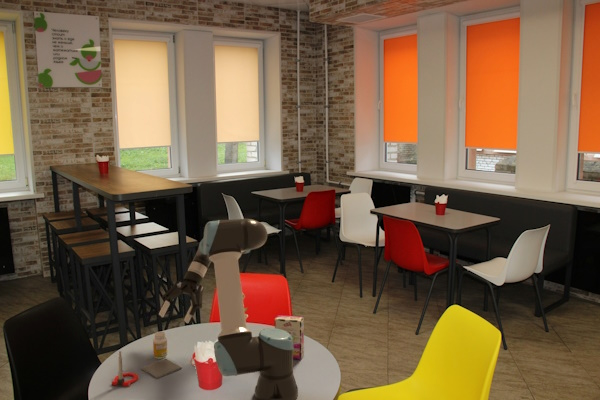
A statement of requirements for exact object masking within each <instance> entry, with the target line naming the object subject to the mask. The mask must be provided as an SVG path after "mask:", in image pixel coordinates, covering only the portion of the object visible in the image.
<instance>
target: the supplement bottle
mask: <svg viewBox="0 0 600 400" xmlns="http://www.w3.org/2000/svg"><path fill="white" fill-rule="evenodd" d="M152 341H153V342H152V347H153V357H154V358H155V359H157V360H159V359H160V360H162V359H166V358H167V357H168V339H167V337H166V333H165V331H157V332H155V333H154V339H153V340H152Z"/></svg>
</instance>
